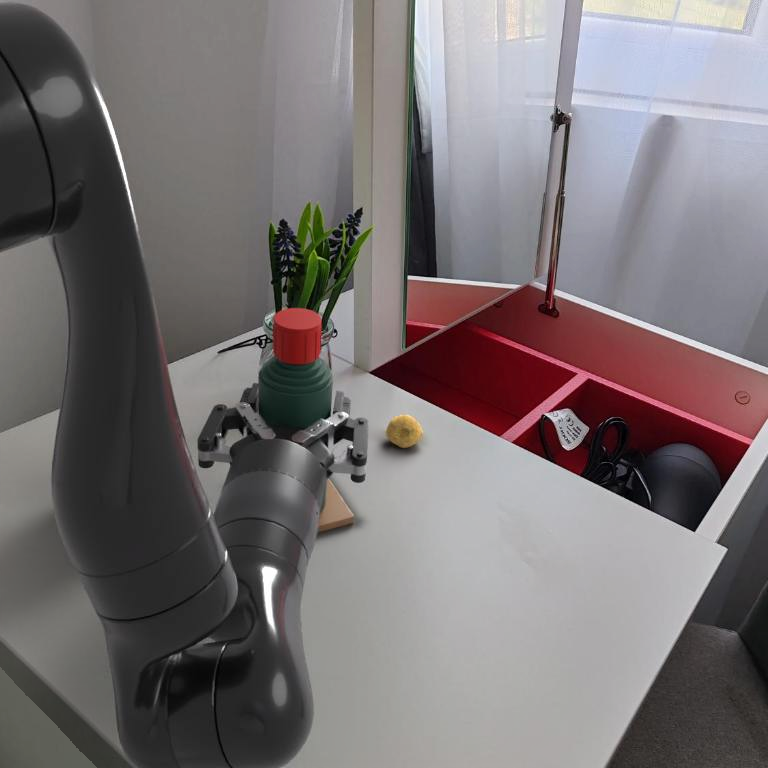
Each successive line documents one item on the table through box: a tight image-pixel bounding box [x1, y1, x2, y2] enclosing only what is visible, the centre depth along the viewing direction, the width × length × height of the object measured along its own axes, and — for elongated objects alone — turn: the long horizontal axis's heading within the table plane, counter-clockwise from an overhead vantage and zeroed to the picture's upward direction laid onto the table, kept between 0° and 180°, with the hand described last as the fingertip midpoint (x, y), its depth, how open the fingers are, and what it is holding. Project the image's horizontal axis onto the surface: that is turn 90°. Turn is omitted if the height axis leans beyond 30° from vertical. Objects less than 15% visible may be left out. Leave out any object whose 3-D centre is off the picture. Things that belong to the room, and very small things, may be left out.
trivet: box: [318, 477, 355, 533], centre depth 76 cm, size 9×9×1 cm
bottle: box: [258, 355, 334, 513], centre depth 71 cm, size 6×6×19 cm
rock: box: [385, 414, 424, 449], centre depth 86 cm, size 4×4×3 cm
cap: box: [272, 307, 323, 364], centre depth 66 cm, size 4×4×3 cm
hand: (298, 395), depth 72 cm, fingers open, 7 cm apart
